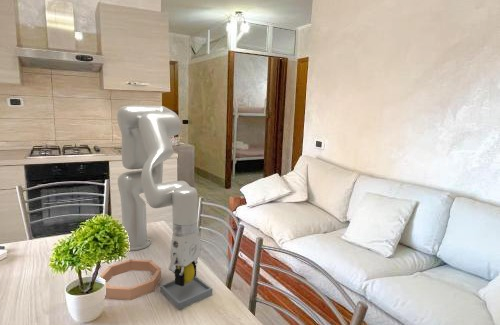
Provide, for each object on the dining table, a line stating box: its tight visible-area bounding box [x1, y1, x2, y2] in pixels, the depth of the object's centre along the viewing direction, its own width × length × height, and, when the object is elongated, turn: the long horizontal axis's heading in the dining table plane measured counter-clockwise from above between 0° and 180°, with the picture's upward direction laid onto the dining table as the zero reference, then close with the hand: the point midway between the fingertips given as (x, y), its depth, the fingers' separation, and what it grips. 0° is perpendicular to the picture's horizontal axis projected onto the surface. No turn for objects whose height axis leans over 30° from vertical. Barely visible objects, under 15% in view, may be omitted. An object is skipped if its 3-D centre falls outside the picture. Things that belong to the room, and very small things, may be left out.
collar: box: [99, 258, 162, 301], centre depth 110 cm, size 18×18×4 cm
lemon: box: [178, 263, 195, 284], centre depth 103 cm, size 6×6×8 cm
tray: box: [159, 275, 213, 311], centre depth 105 cm, size 12×12×2 cm
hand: (185, 279), depth 104 cm, fingers closed on lemon, 5 cm apart
